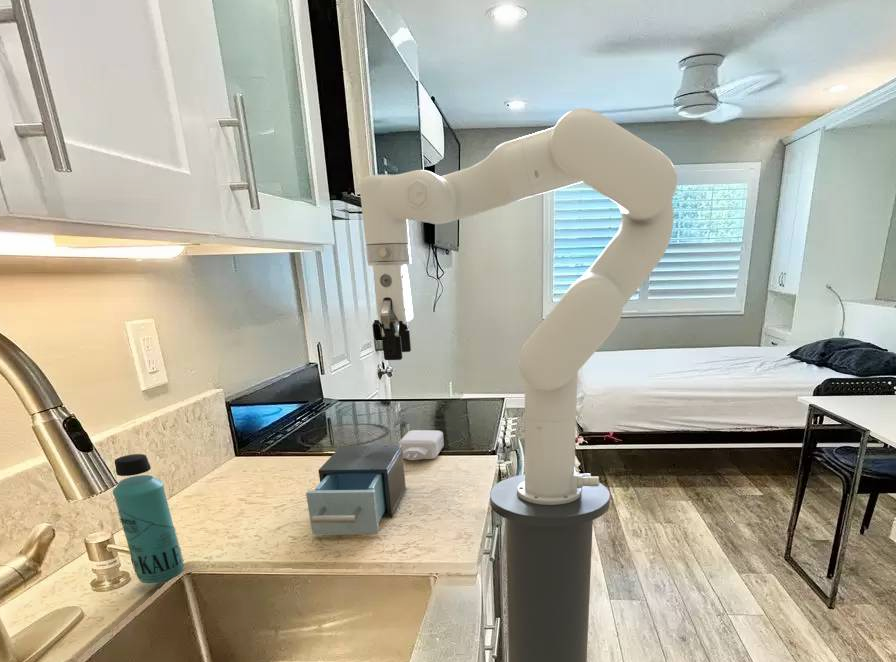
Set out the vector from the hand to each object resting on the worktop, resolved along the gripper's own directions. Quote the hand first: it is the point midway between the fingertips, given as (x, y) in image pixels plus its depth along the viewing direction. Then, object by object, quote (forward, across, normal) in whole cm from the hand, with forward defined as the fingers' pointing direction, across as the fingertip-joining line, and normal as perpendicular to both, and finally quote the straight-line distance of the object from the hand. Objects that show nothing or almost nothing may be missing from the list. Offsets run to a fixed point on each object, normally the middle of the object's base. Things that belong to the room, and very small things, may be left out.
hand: (398, 355), depth 106 cm
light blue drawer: (+27, -15, +8) cm, 32 cm away
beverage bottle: (+28, -33, +32) cm, 54 cm away
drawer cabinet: (+28, -4, +8) cm, 29 cm away
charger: (+28, +24, +2) cm, 37 cm away
